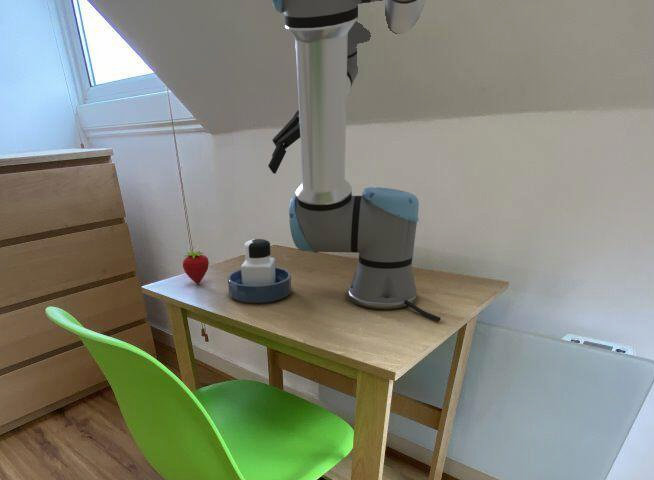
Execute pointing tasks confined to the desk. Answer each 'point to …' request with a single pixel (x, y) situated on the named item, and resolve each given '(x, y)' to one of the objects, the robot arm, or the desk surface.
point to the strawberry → (195, 266)
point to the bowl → (260, 288)
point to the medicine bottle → (258, 264)
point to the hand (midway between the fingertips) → (293, 171)
